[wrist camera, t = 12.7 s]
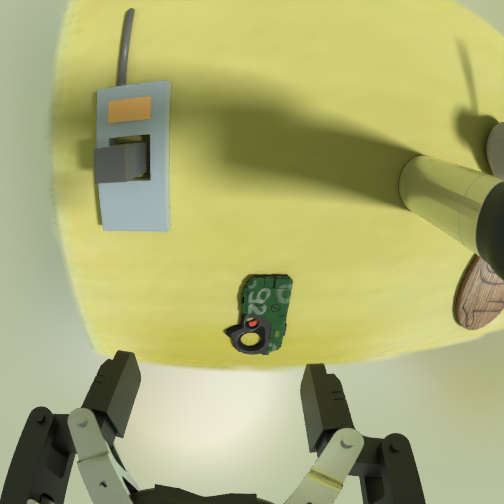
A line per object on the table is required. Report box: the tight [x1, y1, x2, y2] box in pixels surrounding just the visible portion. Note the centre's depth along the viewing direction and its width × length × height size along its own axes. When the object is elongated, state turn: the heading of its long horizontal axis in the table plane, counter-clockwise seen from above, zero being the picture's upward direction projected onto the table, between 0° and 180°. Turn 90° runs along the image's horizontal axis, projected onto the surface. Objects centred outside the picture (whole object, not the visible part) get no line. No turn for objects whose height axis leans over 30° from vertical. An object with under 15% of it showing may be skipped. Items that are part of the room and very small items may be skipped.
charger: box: [94, 142, 149, 184], centre depth 30 cm, size 4×4×8 cm
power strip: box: [96, 8, 172, 232], centre depth 30 cm, size 10×33×2 cm, turn 177°
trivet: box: [455, 255, 504, 330], centre depth 44 cm, size 25×25×2 cm
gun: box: [226, 274, 293, 355], centre depth 44 cm, size 16×2×10 cm
